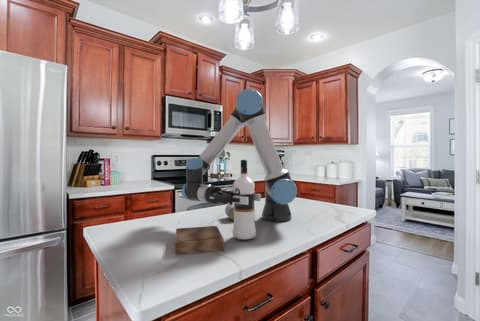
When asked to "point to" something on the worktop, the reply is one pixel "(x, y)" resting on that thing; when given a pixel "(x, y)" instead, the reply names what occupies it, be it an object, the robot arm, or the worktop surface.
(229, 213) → the ceramic mug
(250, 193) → the vodka
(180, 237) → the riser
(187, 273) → the worktop surface
